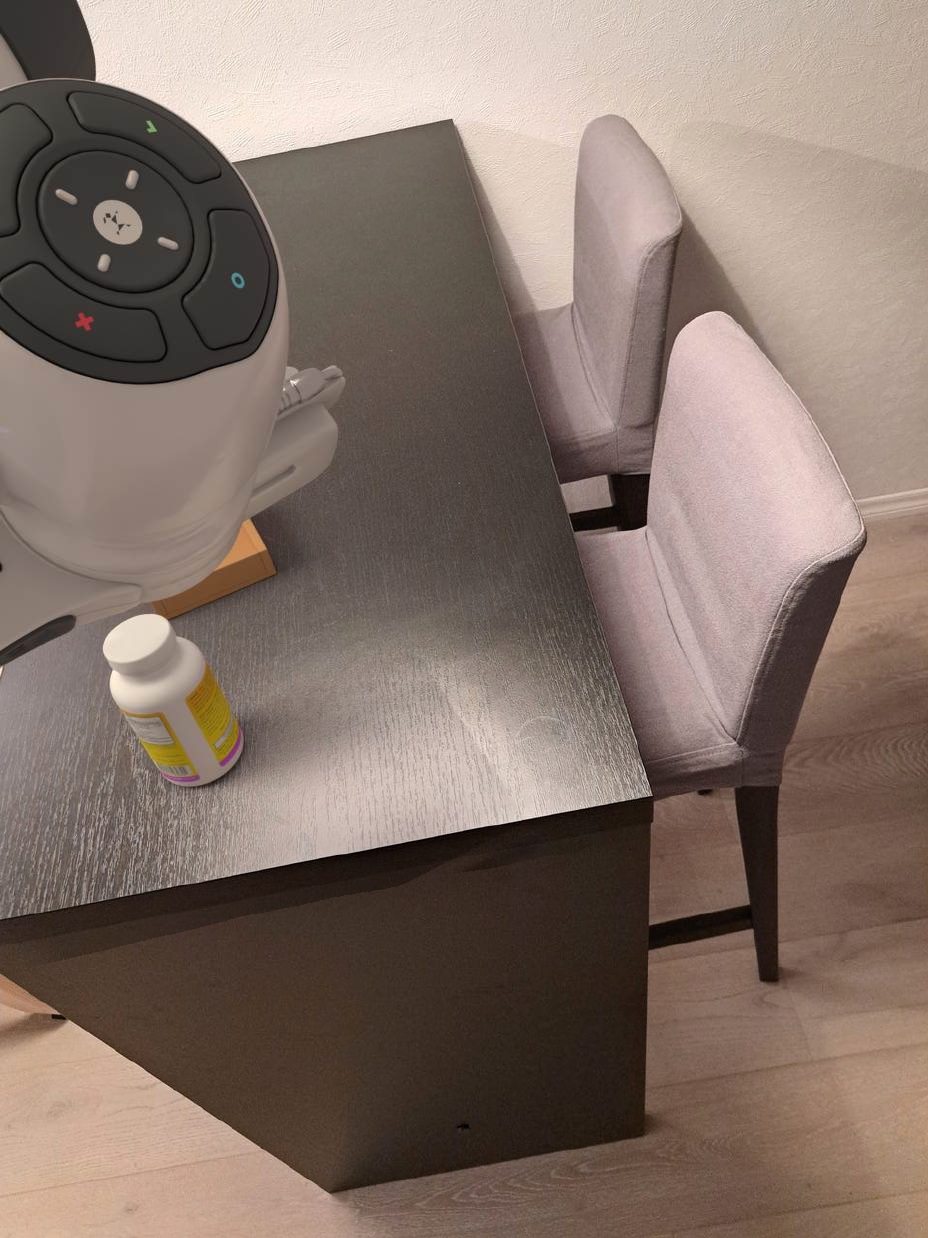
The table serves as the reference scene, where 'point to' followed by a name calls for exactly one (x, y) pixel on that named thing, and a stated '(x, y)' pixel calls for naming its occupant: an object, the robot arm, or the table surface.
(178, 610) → the open wooden box
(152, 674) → the supplement bottle
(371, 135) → the table surface
